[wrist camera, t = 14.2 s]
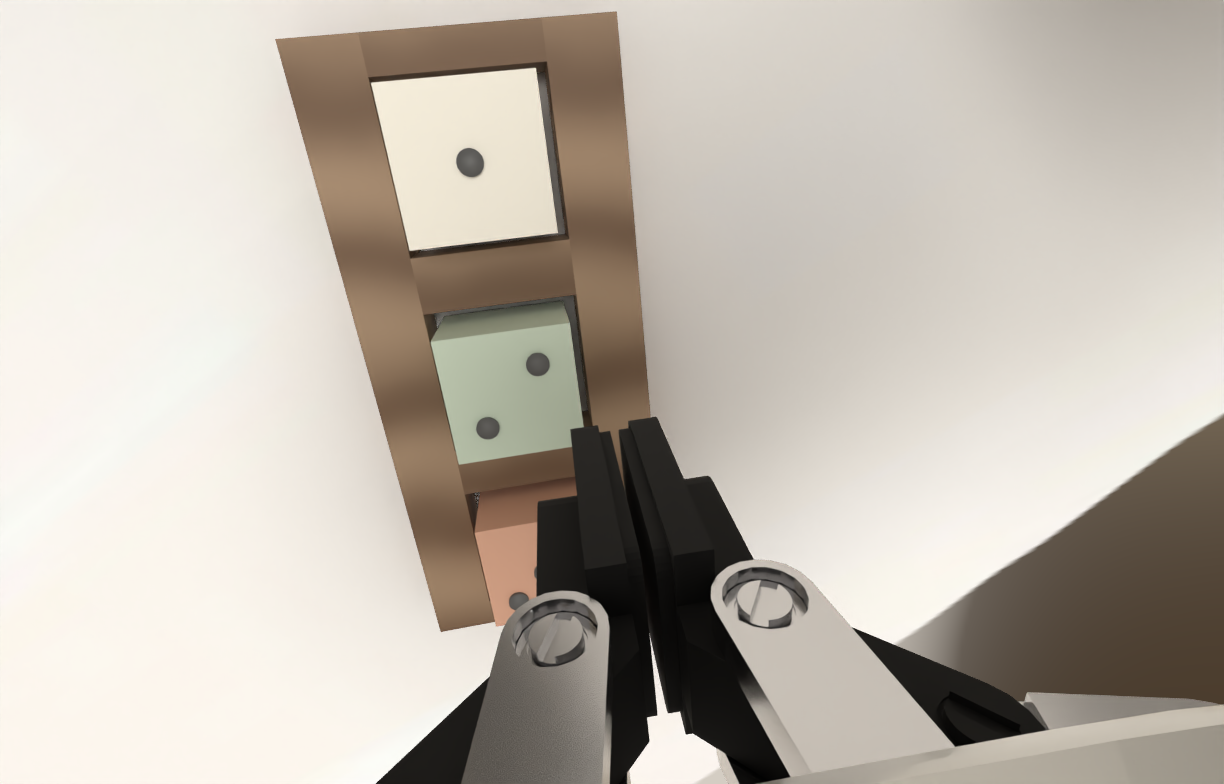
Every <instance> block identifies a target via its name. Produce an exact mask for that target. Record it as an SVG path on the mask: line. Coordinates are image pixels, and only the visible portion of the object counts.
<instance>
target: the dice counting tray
mask: <svg viewBox="0 0 1224 784" xmlns="http://www.w3.org/2000/svg"><path fill="white" fill-rule="evenodd" d="M275 40H276V43H277V47H278V51H279V54H280V58H281V61H282V65H283V68H284V72H285V76H286V79H287V83H288V86H289V90H290V94H291V97H292V101H293V104H294V108H295V111H296V115H297V119H298V122H299V126H300V129H301V133H302V137H303V140H304V144H305V147H306V151H307V154H308V158H309V162H310V165H311V169H312V172H313V176H314V179H315V183H316V187H317V190H318V194H319V197H320V201H321V205H322V208H323V212H324V215H325V219H326V222H327V226H328V230H329V233H330V237H331V240H332V244H333V248H334V251H335V255H336V258H337V262H338V265H339V269H340V273H341V276H342V280H343V283H344V287H345V290H346V294H347V298H348V301H349V305H350V308H351V312H352V316H353V319H354V323H355V326H356V330H357V333H358V337H359V341H360V344H361V348H362V351H363V355H364V359H365V362H366V366H367V369H368V373H369V376H370V380H371V384H372V387H373V391H374V394H375V398H376V401H377V405H378V409H379V412H380V416H381V419H382V423H383V427H384V430H385V434H386V437H387V441H388V444H389V448H390V452H391V455H392V459H393V462H394V466H395V470H396V473H397V477H398V480H399V484H400V487H401V491H402V495H403V498H404V502H405V505H406V509H407V512H408V516H409V520H410V523H411V527H412V530H413V534H414V538H415V541H416V545H417V548H418V552H419V555H420V559H421V563H422V566H423V570H424V573H425V577H426V581H427V584H428V588H429V591H430V595H431V598H432V602H433V606H434V609H435V613H436V616H437V620H438V624H439V627H440V631H441V632H443V631H448V630H453V629H459V628H464V627H469V626H475V625H480V624H485V623H491V622H495V619H494V615H493V610H492V606H491V602H490V597H489V593H488V589H487V584H486V580H485V576H484V571H483V567H482V563H481V558H480V554H479V550H478V545H477V541H476V537H475V526H476V518H477V511H478V509H477V505H476V500H475V496H474V493H477V492H483V491H489V490H495V489H501V488H507V487H513V486H519V485H525V484H531V483H537V482H543V481H549V480H556V479H562V478H568V477H574V476H575V471H574V462H573V452H572V447H567V448H561V449H555V450H548V451H542V452H536V453H530V454H523V455H517V456H511V457H504V458H498V459H492V460H486V461H479V462H473V463H467V464H460V465H459V463H458V459H457V454H456V450H455V446H454V441H453V437H452V433H451V428H450V424H449V420H448V415H447V411H446V407H445V402H444V398H443V394H442V389H441V385H440V381H439V376H438V372H437V367H436V363H435V359H434V354H433V350H432V346H431V340H432V338H433V337H434V335H435V333H436V331H437V326H436V322H435V317H434V313H440V312H448V311H455V310H463V309H470V308H478V307H486V306H493V305H501V304H508V303H516V302H523V301H531V300H539V299H546V298H554V297H561V296H569V295H573V297H574V305H575V313H576V320H577V328H578V336H579V344H580V352H581V359H582V367H583V375H584V383H585V391H586V398H587V406H588V411H584V412H582V418H583V426H584V427H588V426H595V425H598V428H599V432H605V431H610V433H611V437H612V441H613V445H614V449H615V453H616V457H617V461H618V465H619V469H620V473H621V477H622V481H623V485H624V479H623V470H622V461H621V451H620V442H619V429H626V428H628V421H630V420H637V419H645V418H651V417H650V405H649V393H648V381H647V369H646V357H645V345H644V333H643V321H642V309H641V297H640V285H639V273H638V261H637V249H636V237H635V225H634V213H633V201H632V189H631V177H630V165H629V153H628V141H627V129H626V117H625V105H624V93H623V81H622V69H621V57H620V45H619V33H618V21H617V12H605V13H592V14H580V15H568V16H556V17H543V18H531V19H519V20H506V21H494V22H482V23H470V24H457V25H445V26H433V27H420V28H408V29H396V30H383V31H371V32H359V33H347V34H334V35H322V36H310V37H297V38H285V39H275ZM528 68H536V72H545V78H546V86H547V94H548V102H549V109H550V117H551V125H552V133H553V141H554V149H555V156H556V164H557V172H558V180H559V188H560V195H561V203H562V211H563V219H564V227H565V234H562V235H554V236H546V237H537V238H529V239H521V240H512V241H504V242H496V243H488V244H479V245H471V246H463V247H454V248H446V249H438V250H430V251H421V252H420V250H412V251H410V250H409V246H408V241H407V237H406V233H405V228H404V224H403V220H402V215H401V211H400V207H399V202H398V198H397V194H396V189H395V185H394V181H393V176H392V172H391V168H390V163H389V159H388V154H387V150H386V146H385V141H384V137H383V133H382V128H381V124H380V120H379V115H378V111H377V107H376V102H375V98H374V94H373V89H372V85H371V83H373V82H384V81H395V80H407V79H418V78H429V77H440V76H451V75H462V74H473V73H484V72H495V71H506V70H517V69H528ZM624 490H625V488H624Z"/></svg>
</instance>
